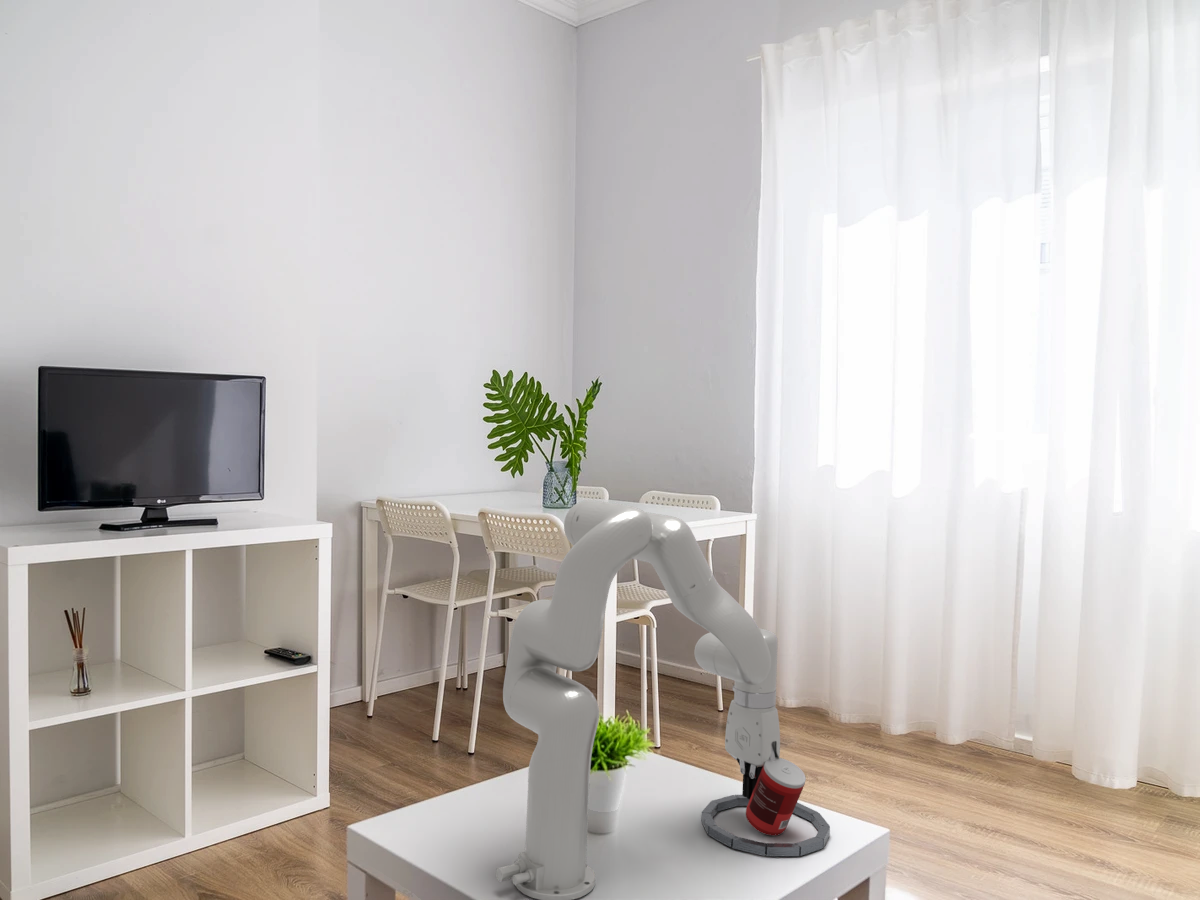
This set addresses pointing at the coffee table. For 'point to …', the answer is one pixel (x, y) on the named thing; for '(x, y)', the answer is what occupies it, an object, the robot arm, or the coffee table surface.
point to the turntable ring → (761, 847)
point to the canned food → (775, 796)
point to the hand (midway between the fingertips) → (751, 796)
